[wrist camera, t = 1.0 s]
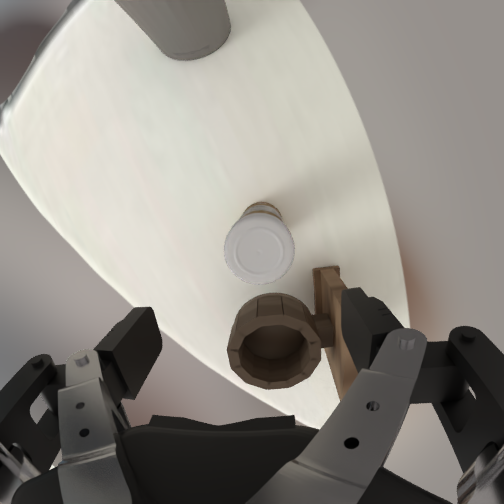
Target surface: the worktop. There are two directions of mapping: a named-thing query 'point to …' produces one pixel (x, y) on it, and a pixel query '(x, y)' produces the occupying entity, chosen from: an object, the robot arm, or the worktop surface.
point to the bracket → (292, 337)
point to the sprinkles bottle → (259, 245)
